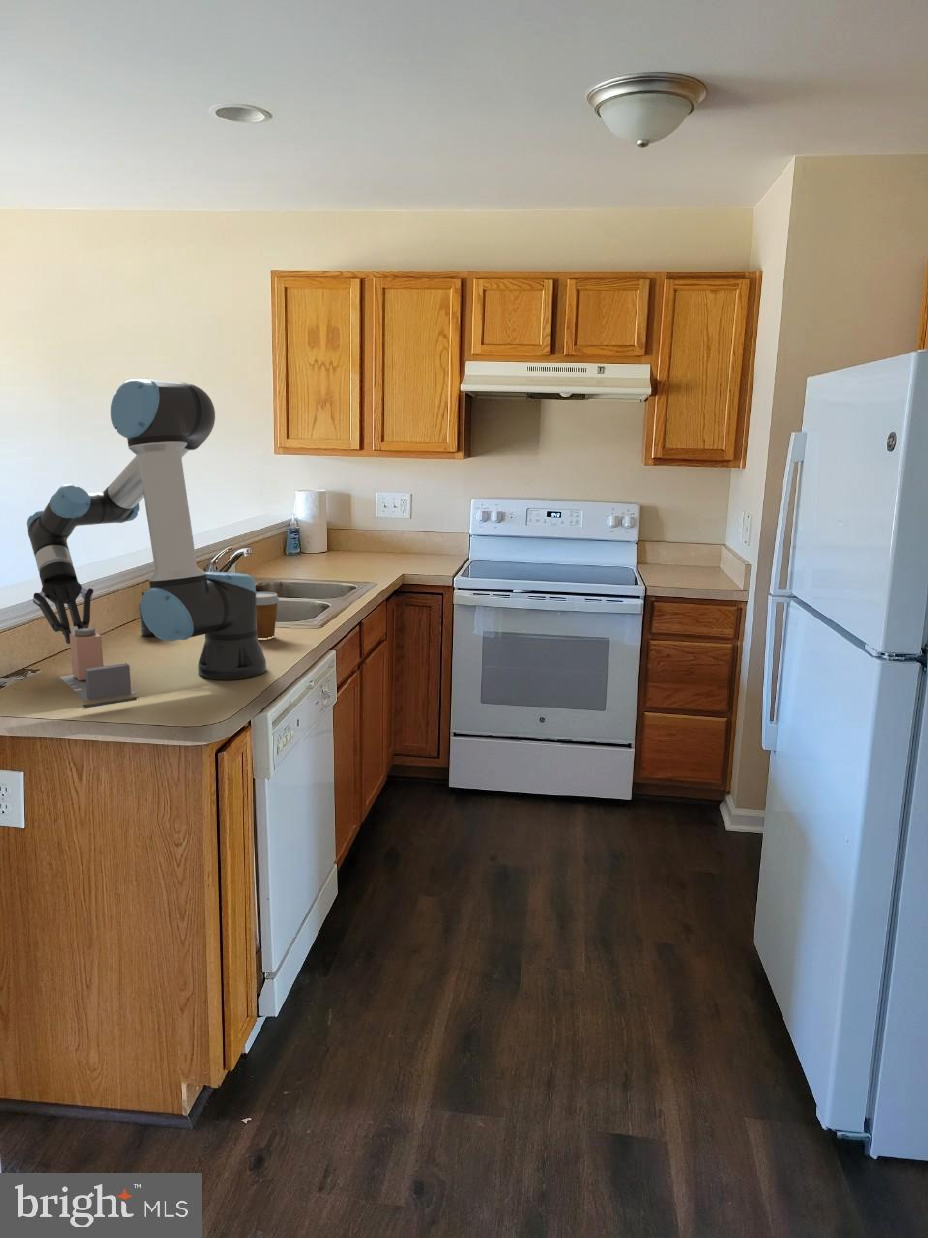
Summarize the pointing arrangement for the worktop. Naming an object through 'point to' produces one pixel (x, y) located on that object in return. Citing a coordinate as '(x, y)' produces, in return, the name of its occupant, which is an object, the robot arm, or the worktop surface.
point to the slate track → (102, 684)
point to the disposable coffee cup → (266, 613)
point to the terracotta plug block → (85, 651)
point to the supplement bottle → (144, 628)
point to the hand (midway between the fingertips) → (79, 653)
